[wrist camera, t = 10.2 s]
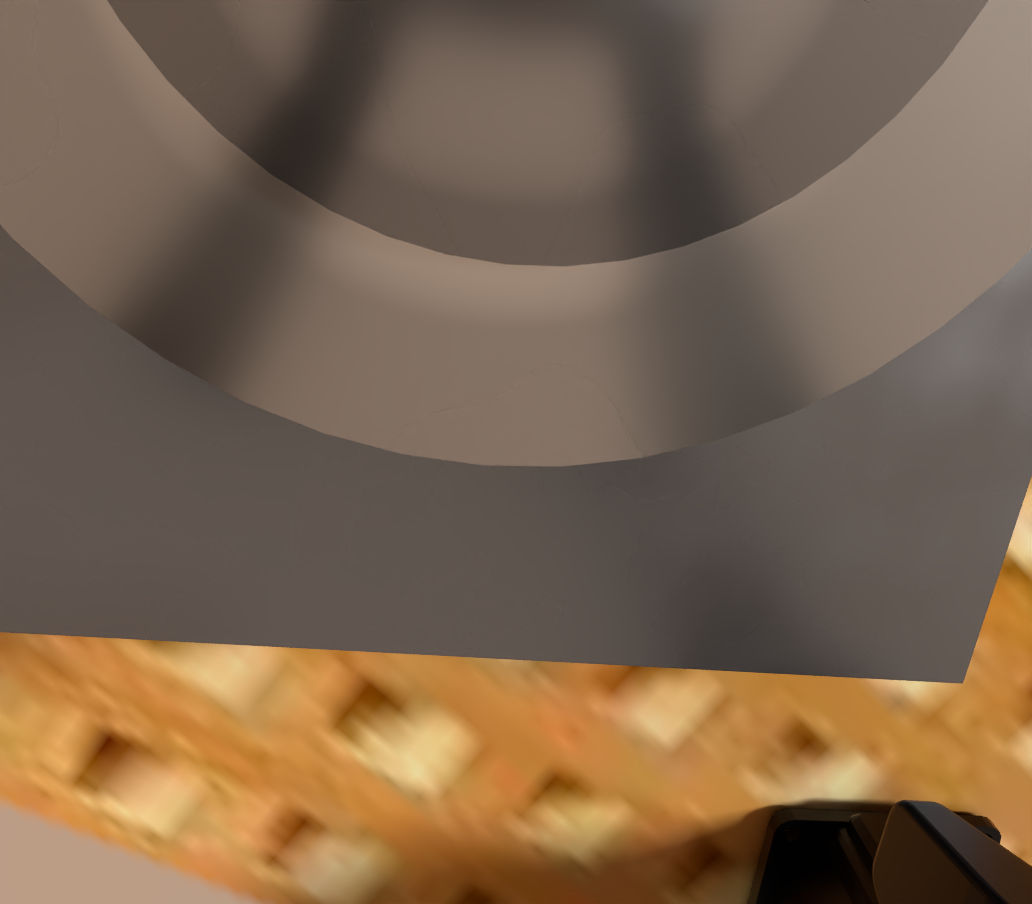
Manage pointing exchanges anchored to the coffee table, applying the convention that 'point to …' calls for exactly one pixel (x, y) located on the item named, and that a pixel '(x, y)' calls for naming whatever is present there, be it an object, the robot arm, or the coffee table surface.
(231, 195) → the end cover
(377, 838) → the coffee table surface
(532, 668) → the coffee table surface
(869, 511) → the bore block
